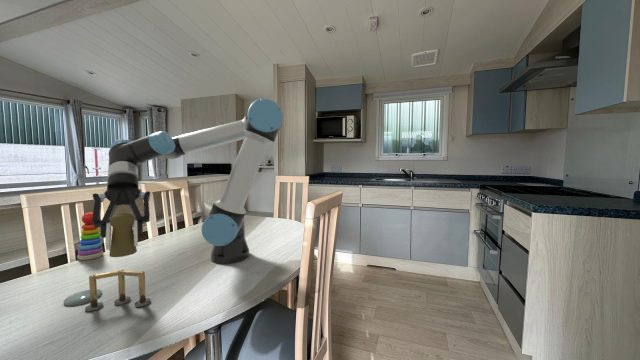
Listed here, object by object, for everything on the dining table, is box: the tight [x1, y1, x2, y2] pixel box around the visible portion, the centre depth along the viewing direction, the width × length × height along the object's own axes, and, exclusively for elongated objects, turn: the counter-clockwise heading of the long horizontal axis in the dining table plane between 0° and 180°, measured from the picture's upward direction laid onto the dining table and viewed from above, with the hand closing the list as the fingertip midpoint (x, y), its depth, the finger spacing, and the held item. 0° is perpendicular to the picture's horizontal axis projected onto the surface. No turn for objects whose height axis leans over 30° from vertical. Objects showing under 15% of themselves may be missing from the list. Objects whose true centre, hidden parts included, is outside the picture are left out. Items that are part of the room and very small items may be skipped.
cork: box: [108, 212, 138, 258], centre depth 68 cm, size 6×6×11 cm
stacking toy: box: [77, 211, 104, 261], centre depth 101 cm, size 8×8×19 cm
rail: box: [84, 269, 152, 313], centre depth 67 cm, size 15×8×9 cm, turn 121°
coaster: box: [63, 288, 103, 307], centre depth 71 cm, size 8×8×1 cm
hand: (122, 245), depth 65 cm, fingers closed on cork, 5 cm apart
